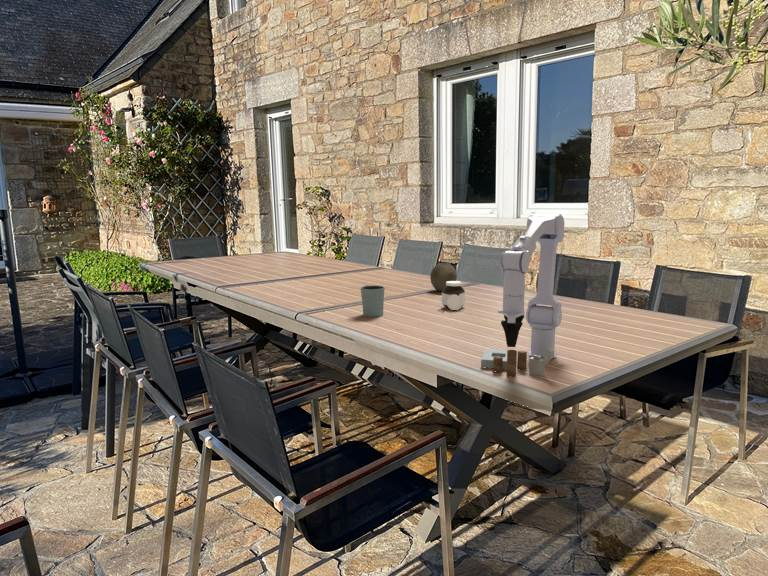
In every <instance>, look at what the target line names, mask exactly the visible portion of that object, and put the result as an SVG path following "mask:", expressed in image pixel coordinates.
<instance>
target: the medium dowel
mask: <svg viewBox="0 0 768 576" xmlns="http://www.w3.org/2000/svg"><path fill="white" fill-rule="evenodd" d="M527 358H528V351H525V350H518V351H517V363H516V370H518V369H520V370H519V371H526V370H527V364H528V363H527V362H528V359H527Z"/></svg>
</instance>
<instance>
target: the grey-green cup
mask: <svg viewBox="0 0 768 576" xmlns="http://www.w3.org/2000/svg"><path fill="white" fill-rule="evenodd" d="M385 289H386V287H385V286H383V285H376V284H375V285H373V284H372V285H364V286H361V287H360V295H361V303H362V304H361V305H362V314H363V316H364V317H366V316H369V317H368V318H377V317H376V316H379V317H383V316H384V307H385V306H384V304H385Z"/></svg>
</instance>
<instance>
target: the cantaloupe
mask: <svg viewBox="0 0 768 576" xmlns="http://www.w3.org/2000/svg"><path fill="white" fill-rule="evenodd" d="M457 277H458V274H457V270H456V268H455V267H454V266H453V265H452V264H450V263H448V262H441V263H438V264H436V265H435V266H433V268H432V270H431V272H430V278H429V279H430V282H431V285H432V288H434V289H435V290H436V291H438V292H442V291H443V289H444V288H445V287H446V282H447V281H457V279H458V278H457Z"/></svg>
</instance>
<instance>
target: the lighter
mask: <svg viewBox="0 0 768 576" xmlns="http://www.w3.org/2000/svg"><path fill="white" fill-rule="evenodd" d="M554 352H555V351H554V350H553V349H548V350H547V352H546V354H545V356H544V357H541V356H539V355H533V357H529V359H528V362H529V363H528V373H529V374H532V375H535V376H539V377H542V376H545V372H546V371H545V367H546V365H547V364H549V363H550V361H551V360H552V359H553V358H552V356H553V354H554Z"/></svg>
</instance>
